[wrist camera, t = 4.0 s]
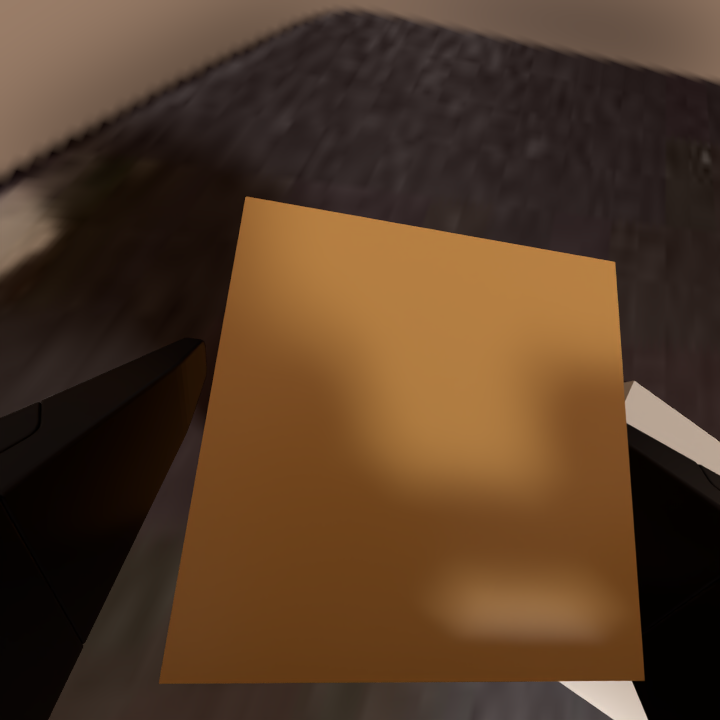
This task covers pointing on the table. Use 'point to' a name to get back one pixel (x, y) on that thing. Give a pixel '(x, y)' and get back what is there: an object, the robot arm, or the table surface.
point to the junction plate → (693, 444)
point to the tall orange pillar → (409, 465)
